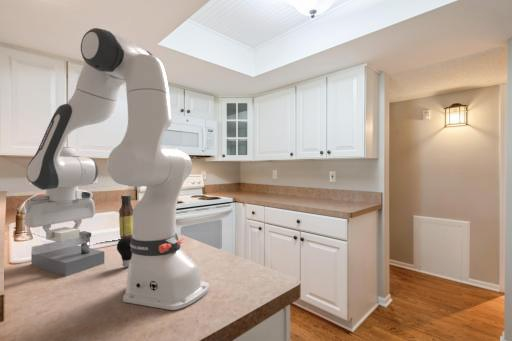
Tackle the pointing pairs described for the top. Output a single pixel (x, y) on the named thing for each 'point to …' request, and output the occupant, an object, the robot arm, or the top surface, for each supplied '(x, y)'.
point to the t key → (65, 244)
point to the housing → (68, 260)
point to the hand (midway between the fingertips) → (63, 235)
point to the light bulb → (125, 250)
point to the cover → (64, 234)
